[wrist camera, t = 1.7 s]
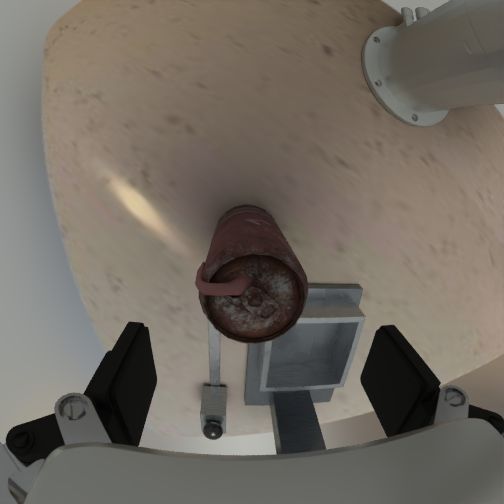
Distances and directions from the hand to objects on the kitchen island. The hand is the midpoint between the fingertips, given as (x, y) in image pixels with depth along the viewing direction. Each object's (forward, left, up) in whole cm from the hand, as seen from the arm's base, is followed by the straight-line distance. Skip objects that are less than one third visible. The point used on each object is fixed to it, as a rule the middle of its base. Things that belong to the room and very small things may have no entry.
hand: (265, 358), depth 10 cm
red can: (0, 0, -18) cm, 19 cm away
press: (+14, +7, -18) cm, 24 cm away
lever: (+22, -3, -18) cm, 29 cm away
